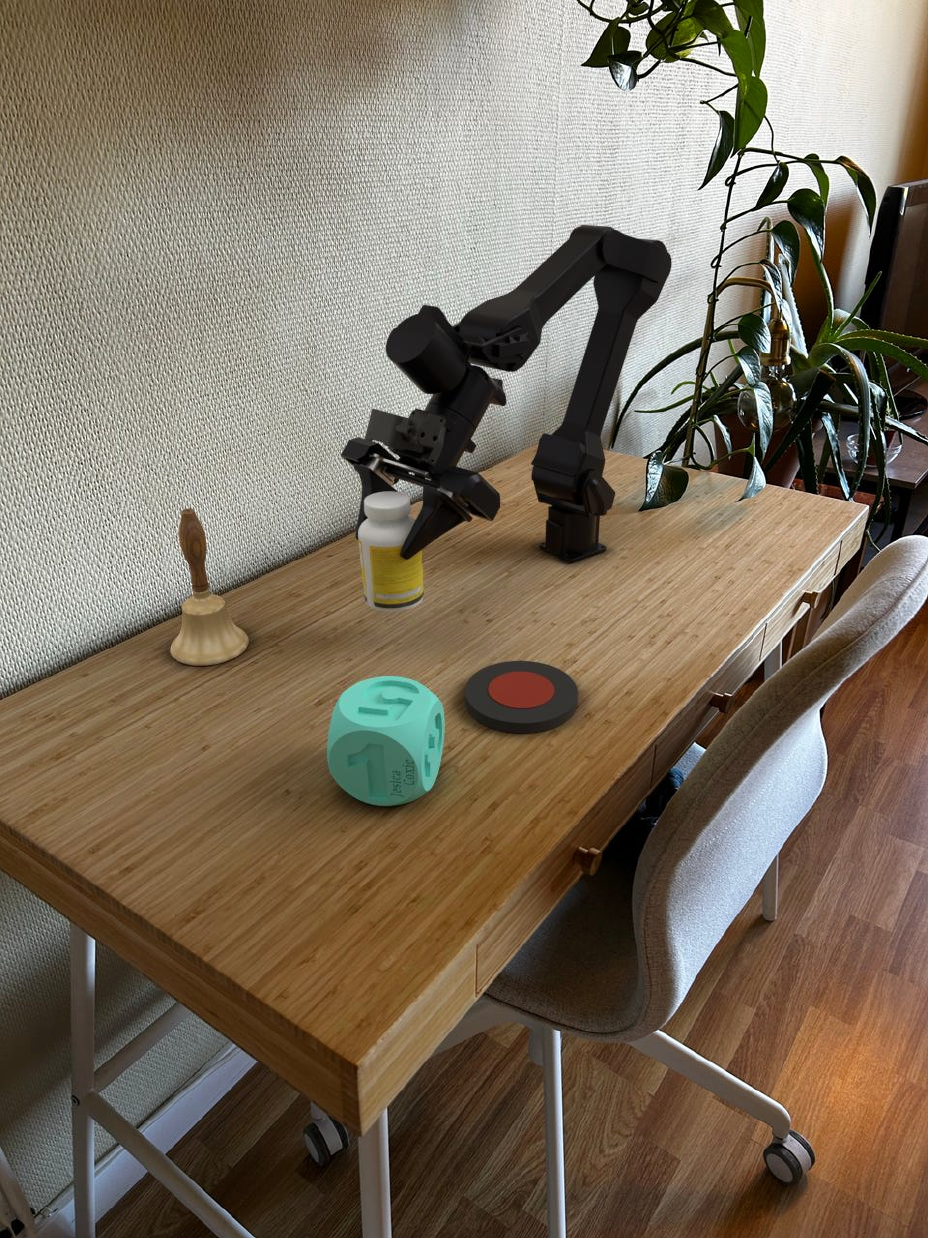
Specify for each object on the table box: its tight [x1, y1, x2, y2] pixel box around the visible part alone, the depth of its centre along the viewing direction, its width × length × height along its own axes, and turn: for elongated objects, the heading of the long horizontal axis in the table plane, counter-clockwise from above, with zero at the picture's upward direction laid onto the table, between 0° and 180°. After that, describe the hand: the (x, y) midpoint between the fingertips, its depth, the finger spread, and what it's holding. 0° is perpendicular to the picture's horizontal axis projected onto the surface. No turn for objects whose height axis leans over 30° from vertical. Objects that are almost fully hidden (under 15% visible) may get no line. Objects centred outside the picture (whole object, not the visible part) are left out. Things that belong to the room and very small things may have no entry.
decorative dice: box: [326, 675, 446, 807], centre depth 77 cm, size 8×8×8 cm
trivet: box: [464, 660, 579, 734], centre depth 89 cm, size 11×11×1 cm
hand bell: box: [169, 507, 250, 667], centre depth 96 cm, size 8×8×16 cm
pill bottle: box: [357, 491, 425, 613], centre depth 95 cm, size 6×6×12 cm
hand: (380, 548), depth 94 cm, fingers closed on pill bottle, 6 cm apart
